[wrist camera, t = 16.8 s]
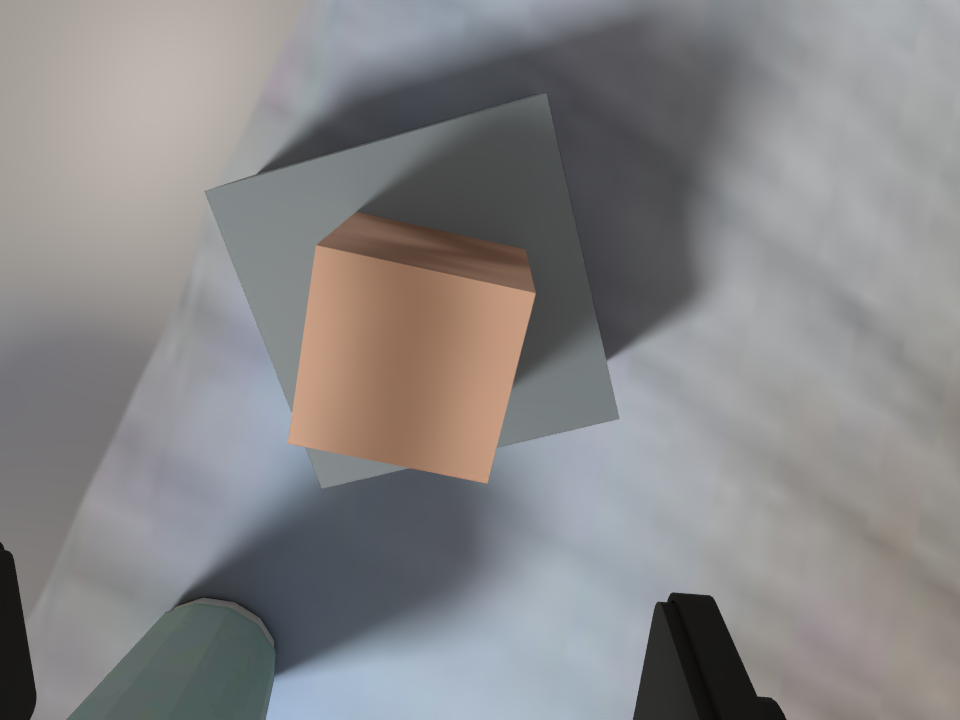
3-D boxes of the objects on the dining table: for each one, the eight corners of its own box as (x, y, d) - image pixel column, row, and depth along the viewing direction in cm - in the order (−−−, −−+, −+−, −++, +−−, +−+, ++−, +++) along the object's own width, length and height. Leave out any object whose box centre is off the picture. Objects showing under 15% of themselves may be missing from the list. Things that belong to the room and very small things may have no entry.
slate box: (535, 94, 29) (546, 93, 23) (597, 363, 33) (619, 418, 27) (258, 173, 30) (204, 190, 24) (349, 424, 34) (321, 488, 28)
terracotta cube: (525, 249, 25) (535, 293, 19) (487, 403, 27) (487, 483, 21) (355, 211, 25) (315, 245, 19) (330, 370, 27) (287, 443, 21)
